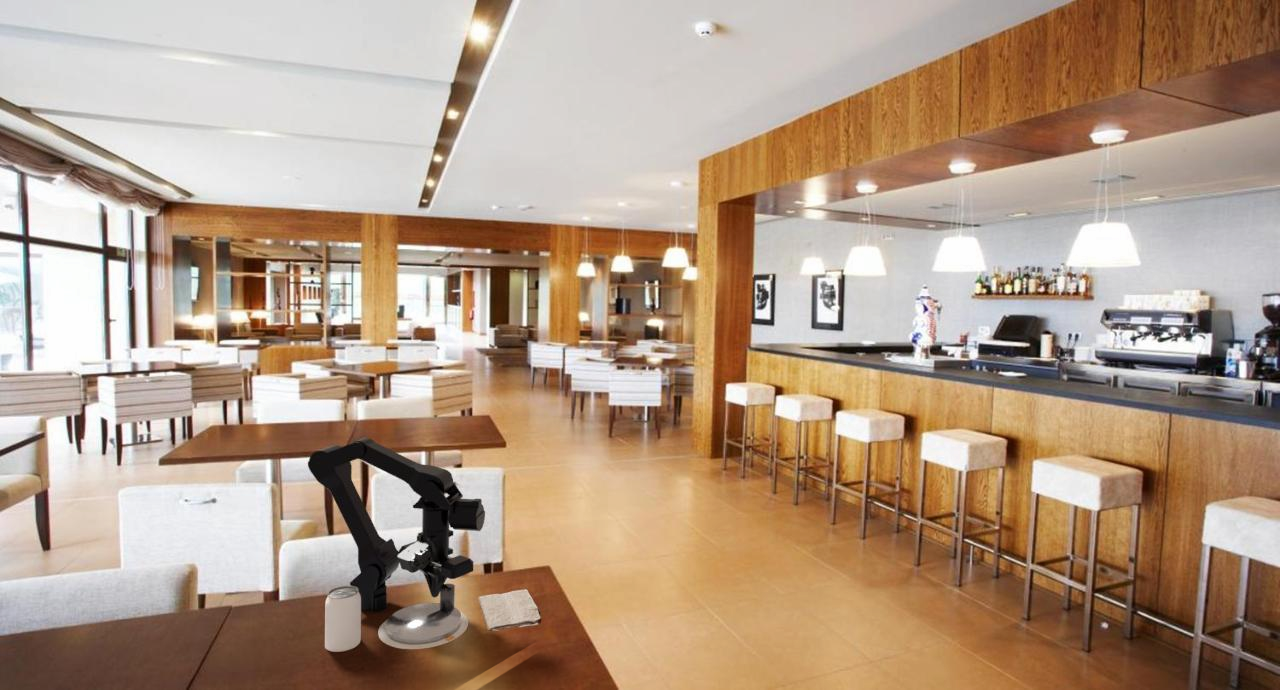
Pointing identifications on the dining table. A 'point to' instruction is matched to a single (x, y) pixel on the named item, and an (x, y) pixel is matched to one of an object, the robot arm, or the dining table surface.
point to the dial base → (392, 643)
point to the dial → (426, 620)
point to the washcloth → (509, 610)
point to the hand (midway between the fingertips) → (434, 596)
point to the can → (342, 619)
